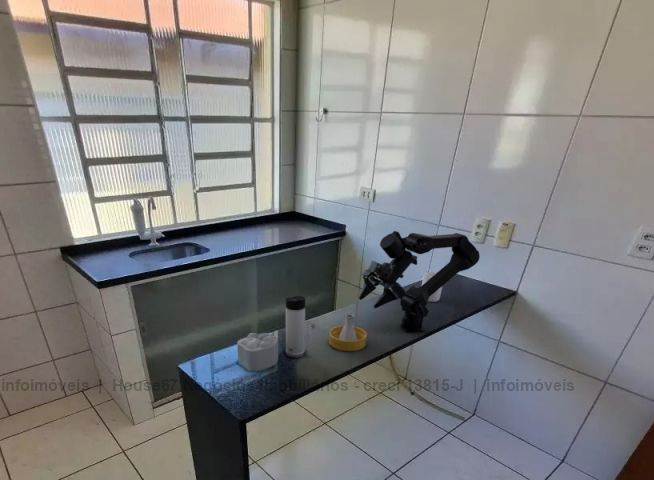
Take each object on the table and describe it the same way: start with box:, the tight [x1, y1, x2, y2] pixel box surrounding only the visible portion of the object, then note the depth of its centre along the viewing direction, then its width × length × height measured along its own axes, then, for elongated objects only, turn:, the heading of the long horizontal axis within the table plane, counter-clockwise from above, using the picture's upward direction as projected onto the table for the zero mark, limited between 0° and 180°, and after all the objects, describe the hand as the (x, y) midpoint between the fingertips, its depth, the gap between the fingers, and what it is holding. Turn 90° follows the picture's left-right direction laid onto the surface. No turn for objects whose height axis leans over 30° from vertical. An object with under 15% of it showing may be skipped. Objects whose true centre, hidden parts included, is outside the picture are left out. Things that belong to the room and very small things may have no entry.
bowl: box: [328, 325, 368, 352], centre depth 142 cm, size 13×13×4 cm
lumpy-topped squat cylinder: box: [236, 332, 279, 372], centre depth 131 cm, size 10×13×9 cm
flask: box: [338, 313, 357, 341], centre depth 141 cm, size 7×7×10 cm
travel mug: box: [285, 295, 306, 359], centre depth 132 cm, size 6×7×20 cm
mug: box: [420, 271, 443, 303], centre depth 179 cm, size 9×12×11 cm
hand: (366, 303), depth 139 cm, fingers open, 9 cm apart
